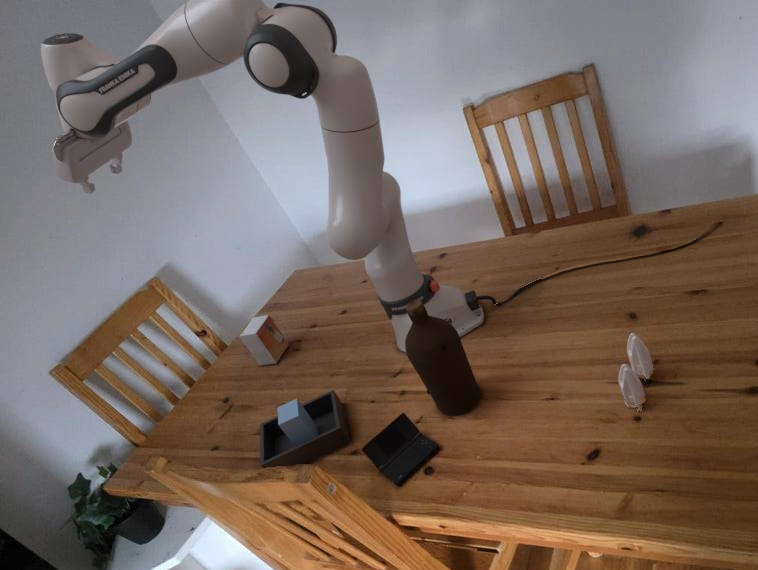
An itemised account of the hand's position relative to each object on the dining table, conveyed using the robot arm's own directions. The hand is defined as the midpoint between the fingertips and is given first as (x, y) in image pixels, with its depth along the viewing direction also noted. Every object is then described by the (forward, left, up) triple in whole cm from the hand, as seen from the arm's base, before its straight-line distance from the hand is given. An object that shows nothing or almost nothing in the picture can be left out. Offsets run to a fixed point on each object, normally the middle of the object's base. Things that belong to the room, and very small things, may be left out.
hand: (104, 181), depth 132 cm
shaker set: (-81, +74, -55) cm, 123 cm away
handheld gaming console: (-36, +64, -55) cm, 91 cm away
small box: (-10, +5, -55) cm, 56 cm away
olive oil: (-50, +55, -55) cm, 92 cm away
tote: (-17, +46, -54) cm, 73 cm away
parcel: (-17, +46, -54) cm, 73 cm away
